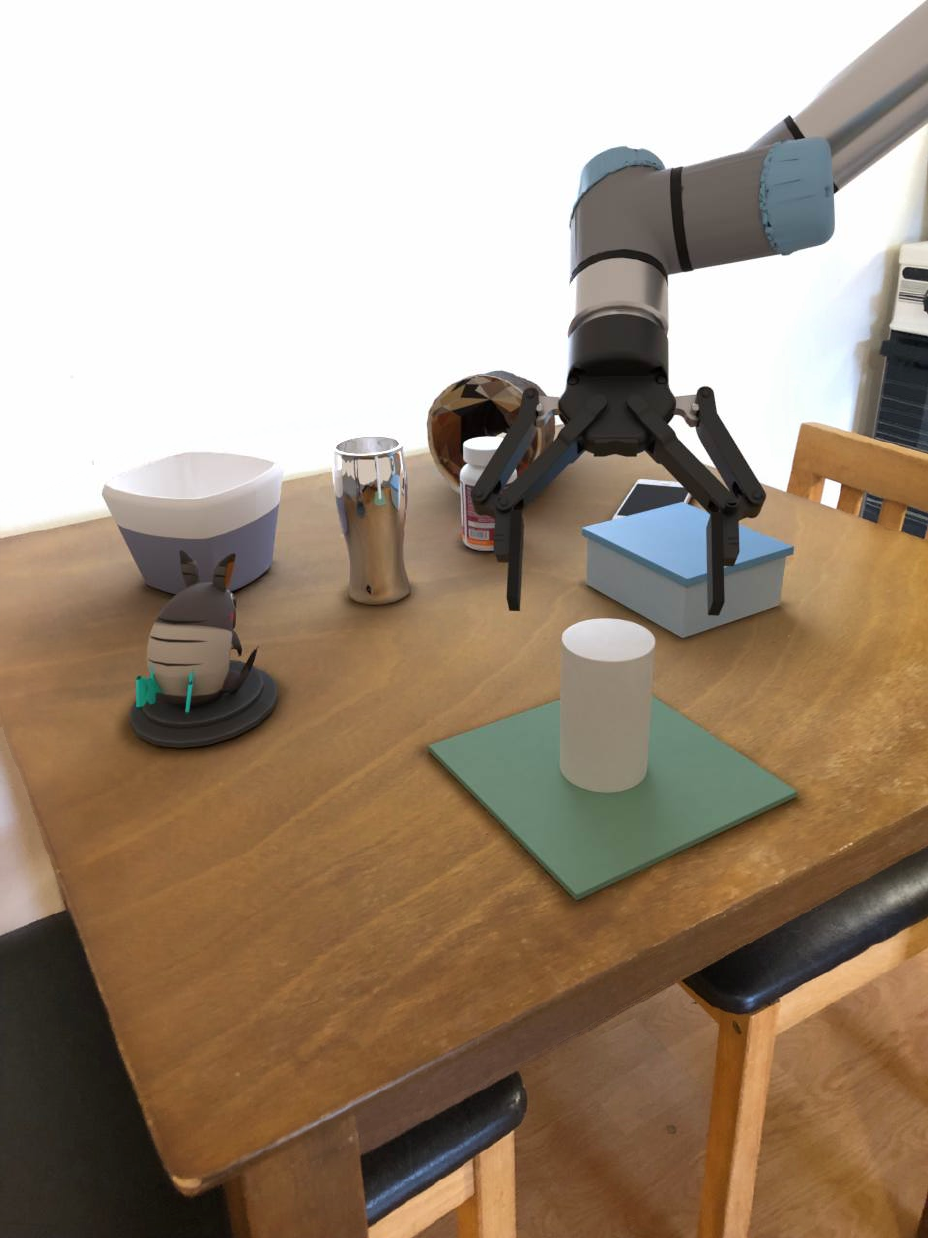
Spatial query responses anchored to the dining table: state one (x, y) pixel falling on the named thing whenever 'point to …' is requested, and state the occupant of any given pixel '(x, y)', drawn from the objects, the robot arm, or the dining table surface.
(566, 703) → the white canister
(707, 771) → the mat
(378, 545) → the beer glass
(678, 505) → the storage box
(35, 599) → the dining table surface
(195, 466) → the bowl
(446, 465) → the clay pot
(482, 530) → the pill bottle
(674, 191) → the robot arm
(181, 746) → the figurine
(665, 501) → the smartphone
